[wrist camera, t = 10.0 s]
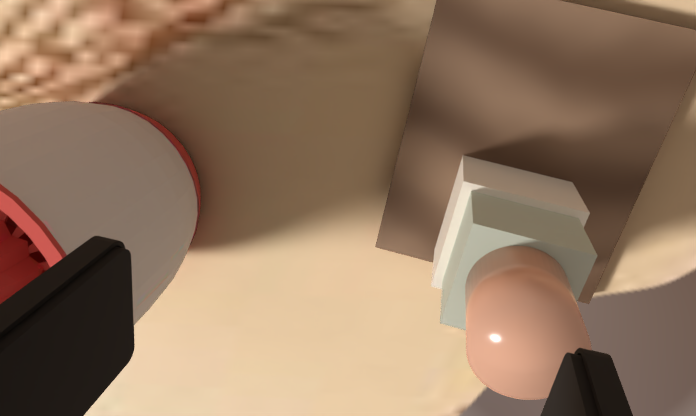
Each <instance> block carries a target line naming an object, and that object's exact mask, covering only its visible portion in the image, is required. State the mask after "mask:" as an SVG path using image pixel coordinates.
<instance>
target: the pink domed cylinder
mask: <svg viewBox="0 0 696 416" xmlns="http://www.w3.org/2000/svg"><path fill="white" fill-rule="evenodd" d="M465 312H466V352H467V358H468V362H469V365H470V367H471V369H472V371H473V372H474V374H475V375H476V376H477V378H478V379H479V380H480V381H481V382H482V383H483V384H485V385H486V386H487V387H489V388H490V389H492V390H494V391H495V392H498V393H500V394H502V395H505V396H508V397H512V398H516V399H525V400H535V399H543V398H548V396H549V393H550V391H551V388H552V385H553V383H554V380H555V378H556V375H557V373H558V370H559V368H560V365H561V363H562V360H563V358H564V356H565V354H566V353H568V352H569V353H573V354H574V353H575V351H576V350H577V349H578V348H584V349H588V350H592V349H591V342H590V339H589V335H588V333H587V330H586V327H585V325H584V322H583V319H582V316H581V314H580V311H579V308H578V305H577V303H576V300H575V297H574V294H573V292H572V289H571V286H570V283H569V281H568V278H567V275H566V273H565V271H564V269H563V268H562V266H561V265H560V264H559V263H558V262H557V261H556V260H555V259H554V258H553V257H552V256H550V255H549V254H547V253H546V252H543V251H541V250H539V249H536V248H533V247H528V246H507V247H502V248H498V249H496V250H493V251H491V252H489V253H487V254H486V255H484V256H483V257H481V258H480V259H479V260H478V261H477V262H476V263H475V264H474V265H473V267H472V268H471V270H470V272H469V274H468V276H467V279H466V283H465Z"/></svg>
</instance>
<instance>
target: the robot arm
mask: <svg viewBox="0 0 696 416" xmlns="http://www.w3.org/2000/svg"><path fill="white" fill-rule="evenodd" d="M133 351H134V321H133V293H132V265H131V253H130V251H129V250H128V249H125V245H124V243H123V242H121V241H119V240H114V239H110V238H106V237H102V236H94V237H92V238H90V239H89V240H87V241H86V242H85V243H83V244H82V245H81V246H79V247H78V248H76V249H75V250H74V251H72V252H71V253H70V254H68V255H67V256H65V257H64V258H63V259H61V260H60V261H59V262H57V263H56V264H54V265H53V266H52V267H50V268H49V269H48V270H46V271H45V272H43V273H42V274H41V275H39V276H38V277H37V278H35V279H34V280H32V281H31V282H30V283H28V284H27V285H26V286H24V287H23V288H22V289H20V290H19V291H17V292H16V293H15V294H13V295H12V296H11V297H9V298H8V299H6V300H5V301H4V302H2V303H1V304H0V416H83V415H84V414H85V413H86V412H87V411H88V410H89V408H90V407H91V406H92V405H93V404H94V402H95V401H96V400H97V399H98V398H99V397H100V395H101V394H102V393H103V392H104V391H105V389H106V388H107V387H108V386H109V385H110V384H111V382H112V381H113V380H114V379H115V378H116V377H117V375H118V374H119V373H120V372H121V371H122V369H123V368H124V367H125V366H126V365H127V364H128V362H129V361H130V359H131V357H132V354H133ZM541 416H633V415H632V412H631V409H630V406H629V404H628V401H627V398H626V396H625V393H624V390H623V387H622V385H621V382H620V379H619V377H618V374H617V371H616V368H615V366H614V363H613V360H612V358H611V356H610V355H608V354H605V353H601V352H596V351H592V350H588V349H584V348H578V349H577V350H576V351H575V353H574V354H573V353H569V352H568V353H566V354H565V356H564V358H563V360H562V363H561V365H560V368H559V370H558V373H557V375H556V378H555V380H554V383H553V385H552V388H551V391H550V393H549V396H548V398H547V401H546V403H545V406H544V408H543V411H542V413H541Z"/></svg>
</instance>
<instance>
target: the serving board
mask: <svg viewBox="0 0 696 416" xmlns="http://www.w3.org/2000/svg"><path fill="white" fill-rule="evenodd" d="M695 70H696V30H694V29H689V28H685V27H680V26H675V25H671V24H666V23H662V22H657V21H653V20H648V19H643V18H639V17H634V16H630V15H625V14H620V13H616V12H611V11H607V10H602V9H598V8H593V7H588V6H584V5H579V4H575V3H570V2H565V1H561V0H437V1H436V5H435V9H434V13H433V17H432V21H431V25H430V29H429V33H428V37H427V42H426V46H425V50H424V54H423V58H422V62H421V66H420V70H419V74H418V78H417V82H416V86H415V90H414V94H413V98H412V102H411V106H410V110H409V114H408V118H407V122H406V126H405V130H404V134H403V138H402V142H401V146H400V150H399V154H398V158H397V162H396V166H395V170H394V174H393V178H392V182H391V186H390V190H389V194H388V198H387V202H386V206H385V210H384V214H383V218H382V222H381V226H380V230H379V234H378V238H377V242H376V246H375V247H377V248H381V249H384V250H388V251H392V252H396V253H399V254H403V255H407V256H411V257H414V258H418V259H422V260H426V261H429V262H433V260H434V249H435V246H436V243H437V239H438V236H439V233H440V229H441V226H442V223H443V219H444V216H445V213H446V209H447V206H448V203H449V200H450V196H451V193H452V190H453V186H454V183H455V180H456V176H457V173H458V170H459V166H460V163H461V160H462V156H463V155H464V156H468V157H472V158H476V159H480V160H484V161H489V162H493V163H497V164H501V165H505V166H509V167H513V168H517V169H521V170H525V171H529V172H533V173H537V174H541V175H545V176H549V177H553V178H557V179H561V180H565V181H569V182H573V184H574V186H575V187H576V189H577V191H578V193H579V195H580V196H581V198H582V200H583V202H584V203H585V205H586V207H587V209H588V211H589V212H590V214H589V216H588V219H587V221H586V223H585V226H584V230H585V232H586V234H587V236H588V238H589V240H590V242H591V244H592V246H593V248H594V250H595V252H596V254H597V258H596V260H595V263H594V265H593V267H592V269H591V271H590V274H589V276H588V278H587V280H586V283H585V285H584V287H583V289H582V292H581V294H580V296H579V298H578V301H580V302H583V303H587V304H589V303H590V300H591V298H592V296H593V294H594V292H595V289H596V287H597V285H598V283H599V281H600V279H601V276H602V274H603V272H604V270H605V268H606V265H607V263H608V261H609V259H610V257H611V254H612V252H613V250H614V248H615V246H616V243H617V241H618V239H619V237H620V235H621V233H622V230H623V228H624V226H625V224H626V222H627V219H628V217H629V215H630V213H631V211H632V208H633V206H634V204H635V202H636V200H637V197H638V195H639V193H640V191H641V189H642V187H643V184H644V182H645V180H646V178H647V176H648V173H649V171H650V169H651V167H652V165H653V162H654V160H655V158H656V156H657V154H658V151H659V149H660V147H661V145H662V143H663V141H664V138H665V136H666V134H667V132H668V130H669V127H670V125H671V123H672V121H673V119H674V116H675V114H676V112H677V110H678V108H679V105H680V103H681V101H682V99H683V97H684V95H685V92H686V90H687V88H688V86H689V84H690V81H691V79H692V77H693V75H694V73H695Z"/></svg>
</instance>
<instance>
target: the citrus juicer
mask: <svg viewBox="0 0 696 416" xmlns="http://www.w3.org/2000/svg"><path fill="white" fill-rule="evenodd" d="M200 205H201V196H200V184H199V180H198V175H197V172H196V170H195V167H194V165H193V162H192V160H191V158H190V156H189V155H188V153H187V152H186V150H185V149H184V147H183V145H182V144H181V143H180V142H179V141H178V140H177V139H176V137H175V136H174V135H173V134H172V133H171V132H170V131H168V130H167V129H166V128H165V127H163V126H162V125H161V124H160V123H158V122H157V121H155V120H153V119H151V118H150V117H148V116H146V115H144V114H141V113H139V112H136V111H133V110H130V109H127V108H124V107H121V106H117V105H114V104H107V103H99V102H89V103H85V102H77V101H69V102H49V103H38V104H30V105H25V106H20V107H15V108H10V109H6V110H2V111H0V304H1V303H2V302H4V301H5V300H6V299H8V298H9V297H11V296H12V295H13V294H15V293H16V292H17V291H19V290H20V289H22V288H23V287H24V286H26V285H27V284H28V283H30V282H31V281H32V280H34V279H35V278H37V277H38V276H39V275H41V274H42V273H43V272H45V271H46V270H48V269H49V268H50V267H52V266H53V265H54V264H56V263H57V262H59V261H60V260H61V259H63V258H64V257H65V256H67V255H68V254H70V253H71V252H72V251H74V250H75V249H76V248H78V247H79V246H81V245H82V244H83V243H85V242H86V241H87V240H89V239H90V238H92V237H94V236H102V237H106V238H110V239H114V240H119V241H121V242H123V243H124V245H125V249H128V250H129V251H130V253H131V265H132V293H133V321H134V325H135V323H136V322H137V321H138V320H139V319H140V318H141V317H142V316H143V315H144V314H145V313H146V312H147V311H148V310H149V309H150V307H151V306H152V305H153V304H154V302H155V301H156V300H157V299H158V297H159V296H160V295H161V294H162V292H163V291H164V290H165V289H166V287H167V286H168V285H169V283H170V282H171V281H172V279H173V278H174V276H175V275H176V273H177V271H178V269H179V267H180V266H181V264H182V262H183V260H184V258H185V255H186V253H187V251H188V248H189V246H190V244H191V242H192V240H193V237H194V235H195V233H196V230H197V224H198V219H199V213H200Z"/></svg>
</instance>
